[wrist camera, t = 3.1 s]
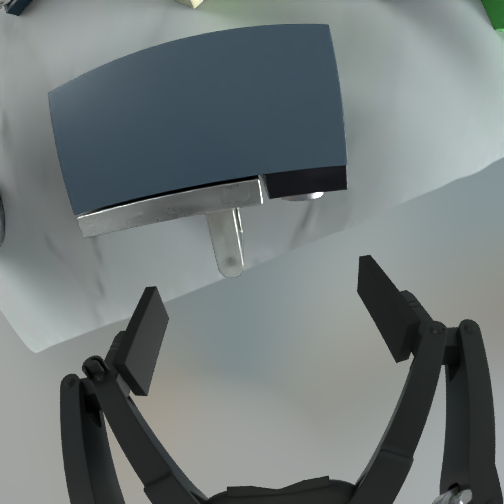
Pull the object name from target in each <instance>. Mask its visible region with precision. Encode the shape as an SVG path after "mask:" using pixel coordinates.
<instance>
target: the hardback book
mask: <svg viewBox="0 0 504 504" xmlns="http://www.w3.org/2000/svg"><path fill="white" fill-rule="evenodd" d="M481 1H482V3H483V5H484V7H485V9H486V12H487V14H488V16H489V18H490V21H491V23H492V25H493V28H494V30H497V31H501V32H504V0H481Z"/></svg>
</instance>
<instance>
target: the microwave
mask: <svg viewBox="0 0 504 504" xmlns="http://www.w3.org/2000/svg"><path fill="white" fill-rule="evenodd" d="M48 98H49V106H50V114H51V120H52V127H53V132H54V138H55V143H56V148H57V153H58V157H59V161H60V166H61V170H62V174H63V178H64V182H65V185H66V189H67V192H68V196H69V199H70V202H71V206H72V209H73V212H74V215H76V214H80V213H83V212H87V211H90V210H94V209H97V208H101V207H105V206H108V205H112V204H116V203H120V202H124V201H128V200H132V199H136V198H140V197H144V196H149V195H153V194H157V193H162V192H166V191H171V190H176V189H181V188H186V187H191V186H196V185H201V184H206V183H212V182H217V181H223V180H229V179H235V178H241V177H248V176H254V175H260V176H261V178H262V181H263V184H264V186H265V189H266V192H267V195H268V197H269V199H273V198H281V199H284V200H288V201H305V200H311V199H315V198H318V197H320V196H322V195H323V193H324V192H328V191H337V190H347V189H348V183H347V165H348V159H347V146H346V134H345V124H344V114H343V106H342V98H341V91H340V84H339V77H338V71H337V65H336V59H335V54H334V48H333V43H332V38H331V34H330V29H329V25H326V24H280V25H264V26H253V27H244V28H236V29H229V30H222V31H216V32H211V33H206V34H201V35H196V36H191V37H187V38H183V39H179V40H175V41H171V42H167V43H164V44H160V45H157V46H154V47H151V48H147V49H144V50H141V51H138V52H136V53H133V54H130V55H127V56H125V57H122V58H119V59H117V60H114V61H112V62H109V63H107V64H105V65H102V66H100V67H98V68H96V69H93V70H91V71H89V72H87V73H85V74H83V75H81V76H79V77H77V78H75V79H73V80H71V81H69V82H67V83H65V84H63V85H62V86H60V87H58V88H56V89H54V90H53V91H51V92H49V93H48Z"/></svg>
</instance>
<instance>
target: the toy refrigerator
mask: <svg viewBox="0 0 504 504" xmlns="http://www.w3.org/2000/svg"><path fill="white" fill-rule="evenodd" d="M175 1H177V2H180V3H182V4H184V5H186V6H188V7H190V8H192V9H195V8H196V7H197V6H198V5H199V4H200V3H201V2H202V1H203V0H175Z"/></svg>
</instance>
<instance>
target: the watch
mask: <svg viewBox="0 0 504 504" xmlns="http://www.w3.org/2000/svg"><path fill="white" fill-rule="evenodd" d="M31 1H32V0H1V1H0V9H1V8H2V7H3V6H4V8H5V11H6V13H9V14H13V15H17V16H19V15H20V14H21V12H22V11H23V10H24V9H25V8H26V7H27V6H28V5H29V3H30V2H31Z"/></svg>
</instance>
